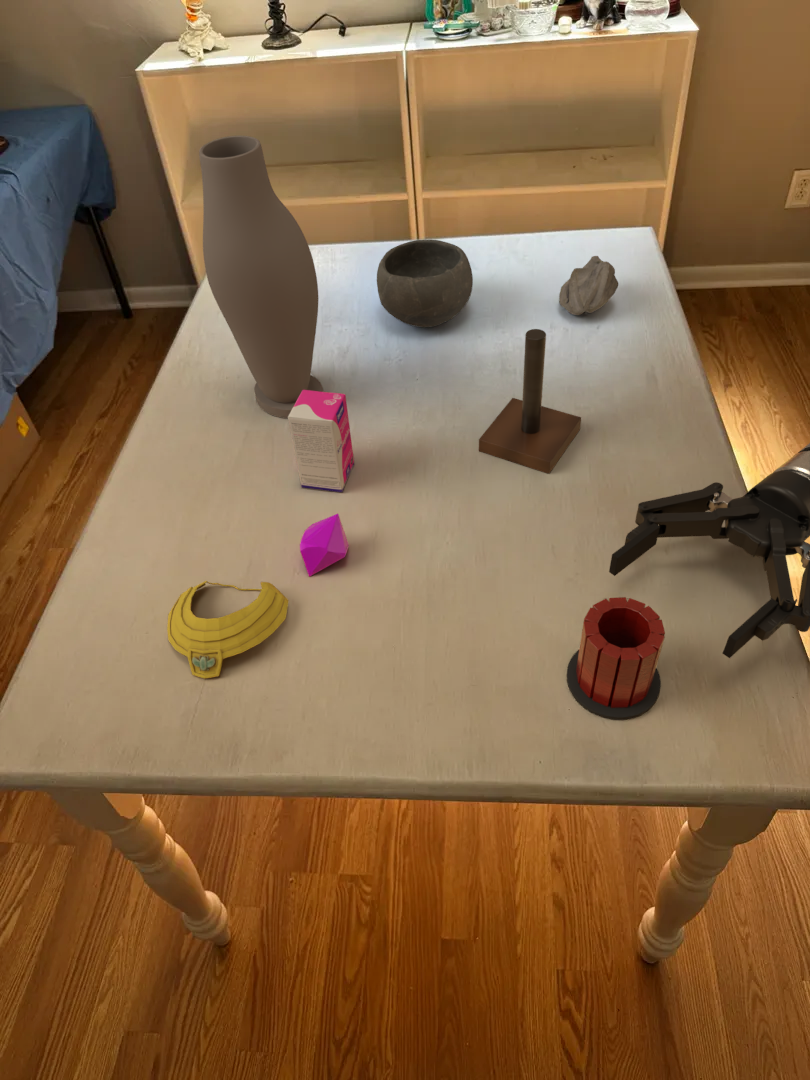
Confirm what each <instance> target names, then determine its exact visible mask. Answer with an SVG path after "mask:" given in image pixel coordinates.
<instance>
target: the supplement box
mask: <svg viewBox="0 0 810 1080" xmlns="http://www.w3.org/2000/svg"><path fill="white" fill-rule="evenodd" d="M349 420H350V419H349V411H348V405H347V395H346V394H345V393H339V392H329V391H328V392H327V391H323V392H319V391H310V390H302V392H301V394H300V395H299V397H298V399H297V401H296V403H295V405H294V406H293V408H292V410H291V412H290V414H289V416H288V418H287V421H288V426H289V431H290V435H291V441H292V446H293V451H294V456H295V461H296V466H297V471H298V476H299V483H300V488H301V489H307V490H314V491H326V492H331V493H333V492H334V493H343V492H344V489H345V487H346V484H347V481H348V479H349V477H350V474H351V472H352V470H353V468H354V466H355V457H354V451H353V443H352V436H351V434H352V433H351V428H350V427H351V426H350V421H349Z"/></svg>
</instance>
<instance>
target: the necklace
mask: <svg viewBox="0 0 810 1080" xmlns="http://www.w3.org/2000/svg"><path fill="white" fill-rule="evenodd" d="M207 584H210V585H213V586H214V585H215V586H217V585H218V586H220V587H229V588H230V587H231V588H235V589H236V590H238V591H260V592H259V594H258V596H257V597H256V599H254V600H253V601H252V602H250V604H248V605H247V606H245V607H243V608H241V609H238V610H235V611H234V612H231V613H228V614H226V615H224V616H219V617H214V618H213V617H212V618H203V617H197V616H196V615H195V614H194V613H193V611H192V602H193V598H194V596H195V594H196V591H197V590H200V589H201V588H204V587H205V586H207ZM260 587H261V588H240V587H237V586H235V585H233V584H222V583H220V582H210V581H208V580H204V581H203V582H200V583H199V584H196V585H195V586H190V587H189V588H187V589H186V590H185V591H184V592H182V593H180V595H179V596H178V598H177V600H176V601H175V602H174V604H173V606H172V607H171V609H170V611H169V613H168V614H167V626H166V630H167V640H168V642H169V643H170V645H171V646H172V647H173V649H174V650H175V651H176V652H177V653H179V654H180V655H183V656H185V657H186V658H187V661H188V664H189V669H190V671H191V675H192V676H195V677H198V678H201V679H211V678H215V677H220V674H221V670H222V666H223V660H224V659H227V658H230V657H233V656H236V655H239V654H242V653H244V652H246V651H248V650H250V649H252V648H254V647H256V646H258V645H260V644H261V643H262V642H264V641H265V640H266V639H267V638H269V637H271V635H273V634H274V633H275V631H276V630H278V628H279V627H280V626H281V625H282V624H283V622H285V620H286V618H287V613H288V608H289V607H288V606H289V601H290V600H289V599H288V598H287V597H286V596H285V595H284V594H283V593H282V592H281V591H280V590H279V589H278V588H277V587H276V586H275V585H274V584H273V583H271V582H267V581H261V582H260Z"/></svg>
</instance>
